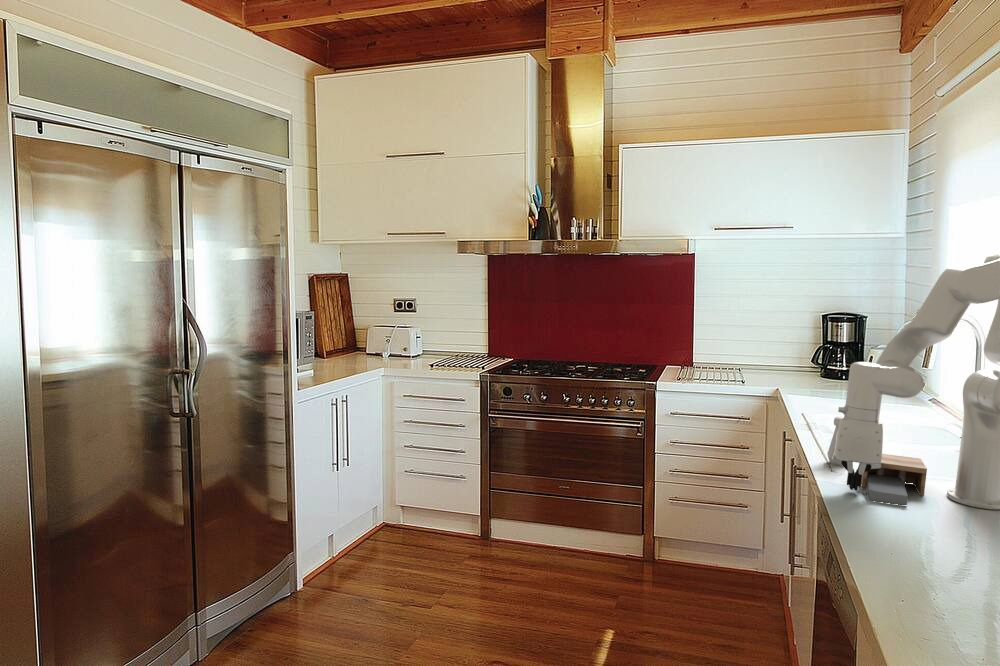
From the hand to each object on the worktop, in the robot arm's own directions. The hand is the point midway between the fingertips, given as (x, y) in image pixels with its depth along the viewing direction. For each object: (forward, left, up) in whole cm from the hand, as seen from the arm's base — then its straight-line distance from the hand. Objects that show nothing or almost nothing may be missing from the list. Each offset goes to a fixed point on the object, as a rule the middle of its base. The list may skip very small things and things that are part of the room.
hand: (853, 488), depth 185 cm
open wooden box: (-14, -1, -1) cm, 15 cm away
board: (-7, +3, -2) cm, 8 cm away
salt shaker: (-17, -20, -1) cm, 27 cm away
